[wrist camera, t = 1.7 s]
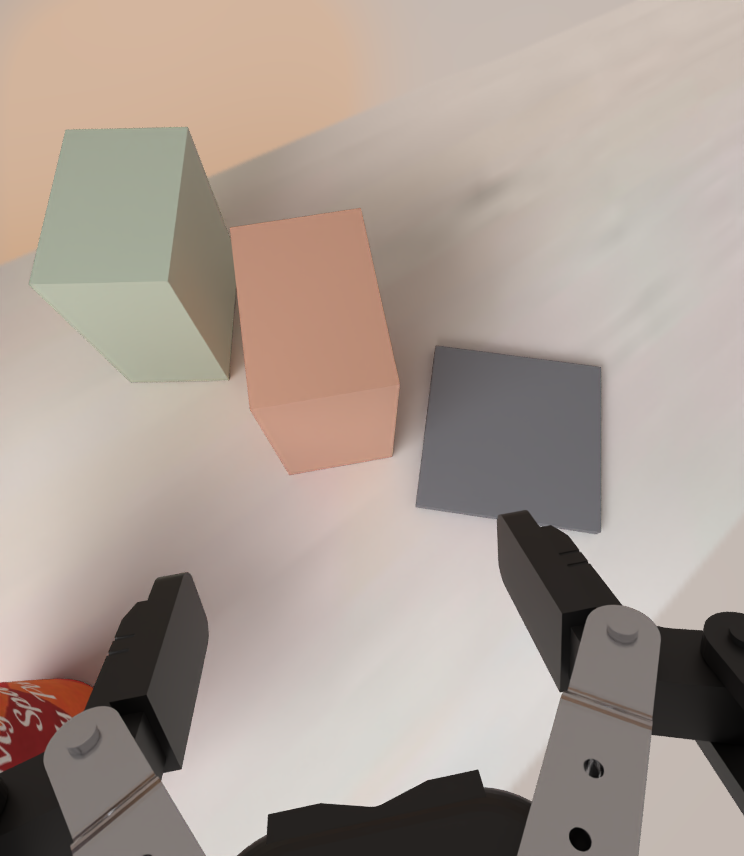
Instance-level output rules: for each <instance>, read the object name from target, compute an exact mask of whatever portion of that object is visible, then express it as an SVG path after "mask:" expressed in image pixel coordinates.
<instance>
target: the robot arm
mask: <svg viewBox="0 0 744 856" xmlns="http://www.w3.org/2000/svg"><path fill="white" fill-rule="evenodd" d="M497 537H498V561H499V569H500V573H501V577H502V580H503V582H504V585H505V587H506V589H507V591H508V593H509V595H510V597H511V599H512V600H513V602H514V604H515V606H516V608H517V610H518V612H519V614H520V616H521V618H522V620H523V622H524V624H525V626H526V628H527V630H528V631H529V633H530V635H531V637H532V639H533V641H534V643H535V645H536V647H537V649H538V651H539V653H540V655H541V657H542V659H543V661H544V663H545V664H546V666H547V668H548V670H549V672H550V674H551V676H552V678H553V680H554V682H555V684H556V686H557V688H558V690H559V692H563V693H562V695H561V698H560V702H559V705H558V709H557V713H556V716H555V720H554V724H553V727H552V731H551V734H550V738H549V742H548V745H547V749H546V753H545V756H544V760H543V764H542V767H541V771H540V775H539V778H538V782H537V785H536V789H535V793H534V797H533V800H532V801H530V800H528V799H526V798H523V797H521V796H519V795H516V794H514V793H511V792H508V791H504V790H499V789H495V788H486V787H483V784H482V780H481V777H480V774H479V771H478V770H474V771H469V772H464V773H460V774H455V775H450V776H446V777H441V778H436V779H432V780H427V781H425V782H424V783H422V784H420V785H418V786H416V787H414V788H412V789H410V790H408V791H406V792H404V793H403V794H401V795H399V796H397V797H395V798H393V799H391V800H389V801H387V802H385V803H384V804H382V805H379V806H376V807H364V806H350V805H337V804H323V803H320V804H315V805H310V806H306V807H301V808H296V809H292V810H287V811H282V812H278V813H273V814H268V825H267V835H265V836H264V837H262V838H260V839H258V840H257V841H255V842H254V843H252V844H251V845H250V846H248V847H247V848H246V849H244V850H243V851H242V852H241V853H240V854H238V855H237V856H638V854H639V845H640V835H641V826H642V817H643V807H644V797H645V788H646V780H647V770H648V760H649V752H650V742H651V735H658V736H666V737H675V738H683V739H692V740H695V741H696V742H697V744H698V745H699V747H700V748H701V750H702V752H703V753H704V755H705V756H706V758H707V759H708V761H709V762H710V764H711V765H712V767H713V769H714V770H715V771H716V773H717V775H718V776H719V778H720V779H721V781H722V782H723V784H724V785H725V787H726V789H727V790H728V792H729V793H730V795H731V796H732V798H733V799H734V801H735V802H736V804H737V806H738V807H739V809H740V810H741V812H742V813H743V815H744V614H743V613H737V612H721V613H717V614H714V615H712V616H710V617H709V618H708V619H707V620H706V622H705V625H704V628H703V631H701V630H686V629H672V628H663V627H659V626H656V625H655V623H654V622H653V621H652V620H651V619H650V618H649V617H647V616H646V615H645V614H643V613H641V612H639V611H637V610H635V609H633V608H630V607H626V606H622V604H621V603H620V602H619V600H618V599H617V598H616V597H615V595H614V594H613V593H612V591H611V590H610V589H609V588H608V586H607V585H606V584H605V582H604V581H603V580H602V579H601V577H600V576H599V575H598V573H597V572H596V571H595V569H594V568H593V567H592V566H591V564H588V560H587V559H586V558H585V557H584V555H583V554H582V553H581V552H579V549H578V548H577V546H576V545H575V544H574V542H573V541H572V540H571V539H570V537H569V536H568V535H566V534H565V533H563V532H562V531H560V530H558V529H557V528H555V527H554V526H552V525H549V526H543V527H539V525H538V524H537V522H536V521H535V520H534V518H533V517H532V515H531V514H530V513H529V511H527V510H522V511H516V512H511V513H506V514H500V515H498V517H497ZM208 637H209V631H208V622H207V617H206V614H205V612H204V609H203V606H202V603H201V601H200V598H199V595H198V592H197V590H196V587H195V584H194V581H193V579H192V576H191V575H190V573H188V572H185V573H180V574H175V575H169V576H164V577H159V578H157V579H156V580H155V582H154V585H153V587H152V590H151V592H150V595H149V598H148V600H147V601H142V602H137V603H136V604H135V606H134V607H133V608H132V609H131V610H130V611H129V612H128V614H127V615H126V616H125V617H124V618H123V619H122V621H121V624H120V626H119V628H118V631H117V633H116V636H115V641H113V643H112V645H111V647H110V650H109V652H108V653H109V656H107V657H106V659H105V662H104V664H103V666H102V669H101V671H100V674H99V676H98V678H97V681H96V683H95V685H94V688H93V690H92V693H91V695H90V697H89V700H88V702H87V704H86V707H85V709H84V711H83V712H81V713H79V714H77V715H76V716H74V717H72V718H71V719H70V720H68V721H67V722H66V723H65V724H64V725H63V726H61V727H60V728H59V730H58V731H57V732H56V733H55V734H54V736H53V737H52V738H51V740H50V741H49V743H48V745H47V747H46V750H45V752H43V753H41V754H39V755H37V756H35V757H33V758H31V759H29V760H27V761H25V762H22V763H20V764H18V765H16V766H14V767H12V768H10V769H8V770H6V771H3V772H1V773H0V856H206V855H205V854H204V852H203V850H202V849H201V847H200V845H199V844H198V842H197V840H196V839H195V837H194V835H193V834H192V832H191V830H190V829H189V827H188V825H187V824H186V822H185V820H184V819H183V817H182V815H181V814H180V812H179V810H178V809H177V807H176V805H175V804H174V802H173V800H172V799H171V797H170V795H169V794H168V792H167V790H166V789H165V787H164V785H163V784H162V782H161V779H162V775H163V773H166V772H170V771H175V770H180V769H182V764H183V760H184V755H185V750H186V745H187V740H188V736H189V731H190V726H191V721H192V716H193V712H194V707H195V702H196V697H197V693H198V688H199V683H200V678H201V673H202V669H203V664H204V659H205V654H206V649H207V645H208Z"/></svg>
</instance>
